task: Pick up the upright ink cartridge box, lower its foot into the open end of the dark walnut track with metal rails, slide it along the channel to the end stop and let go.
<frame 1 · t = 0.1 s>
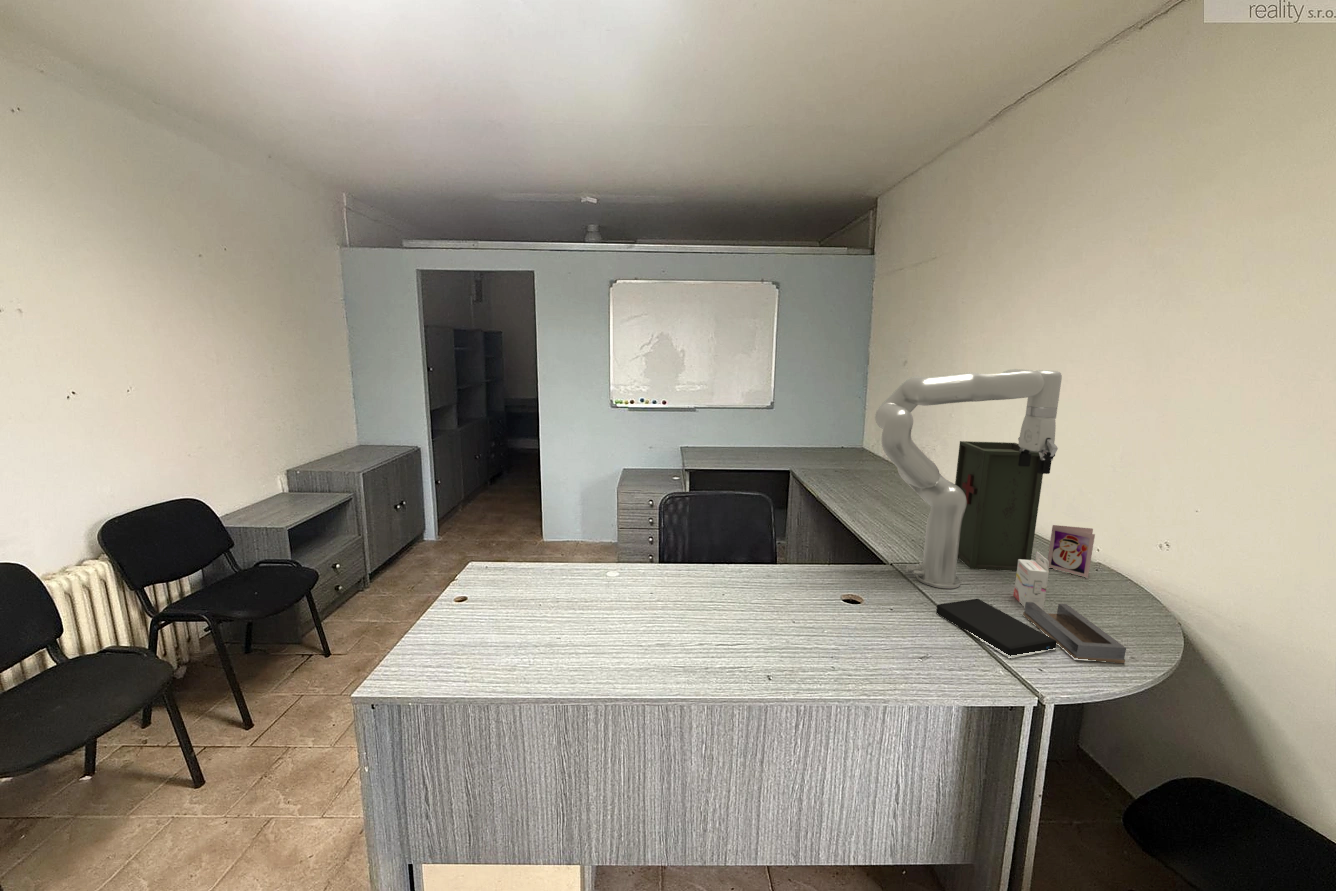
hand: (1033, 469, 162), 37 cm above the table, tool pointing down, fingers open, 9 cm apart
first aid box: (986, 560, 188), on the table
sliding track: (1069, 637, 138), on the table
greeting card: (1069, 571, 180), on the table
ink cartridge box: (1027, 603, 156), on the table
external hard drive: (991, 632, 141), on the table
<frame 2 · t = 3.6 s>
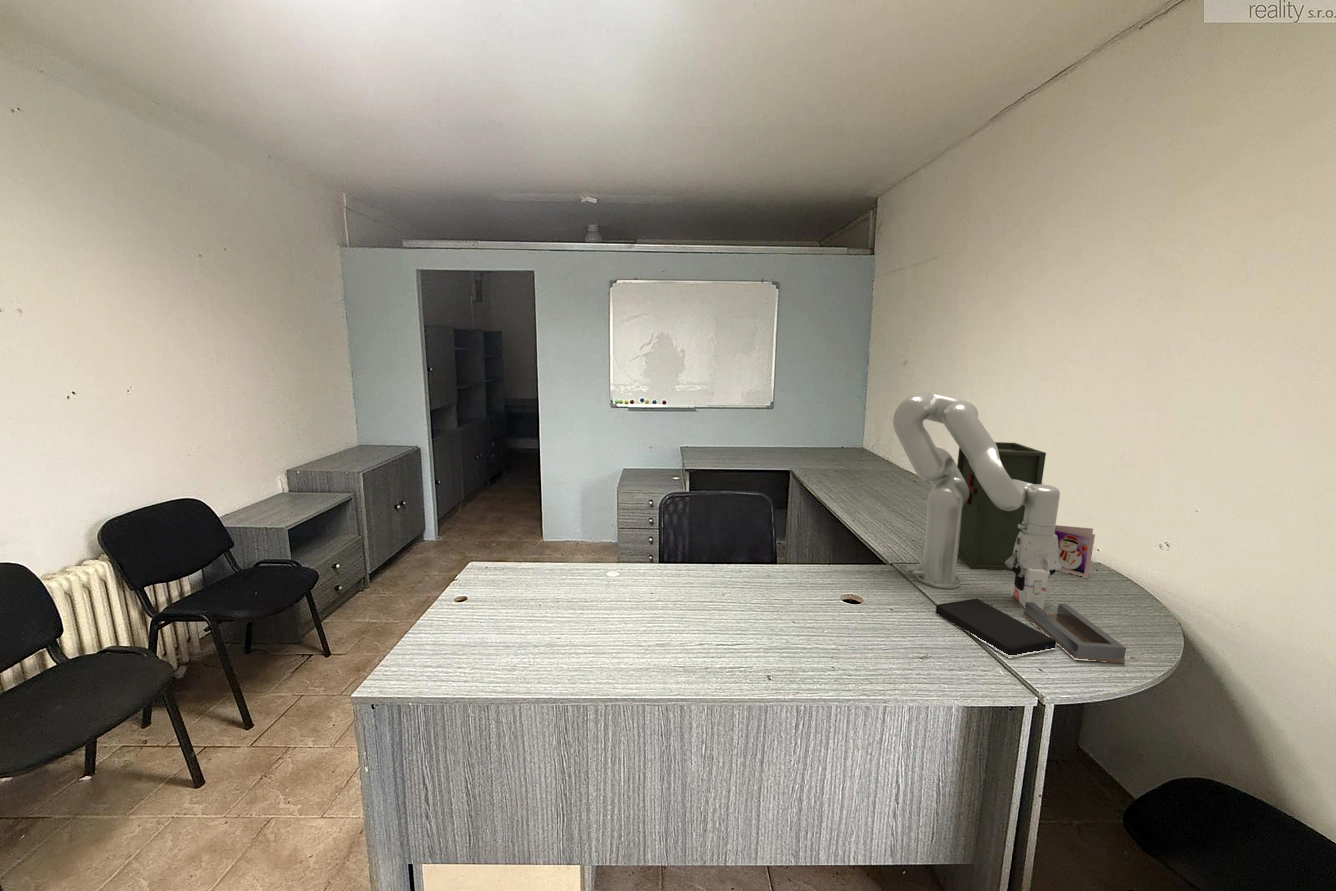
hand: (1029, 588, 156), 5 cm above the table, tool pointing down, fingers closed on ink cartridge box, 5 cm apart
ink cartridge box: (1027, 603, 156), on the table, touching gripper
everything else where it was.
when the fingers open (6 cm above the table, at t = 11.2 s): ink cartridge box stays where it is, resting on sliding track.
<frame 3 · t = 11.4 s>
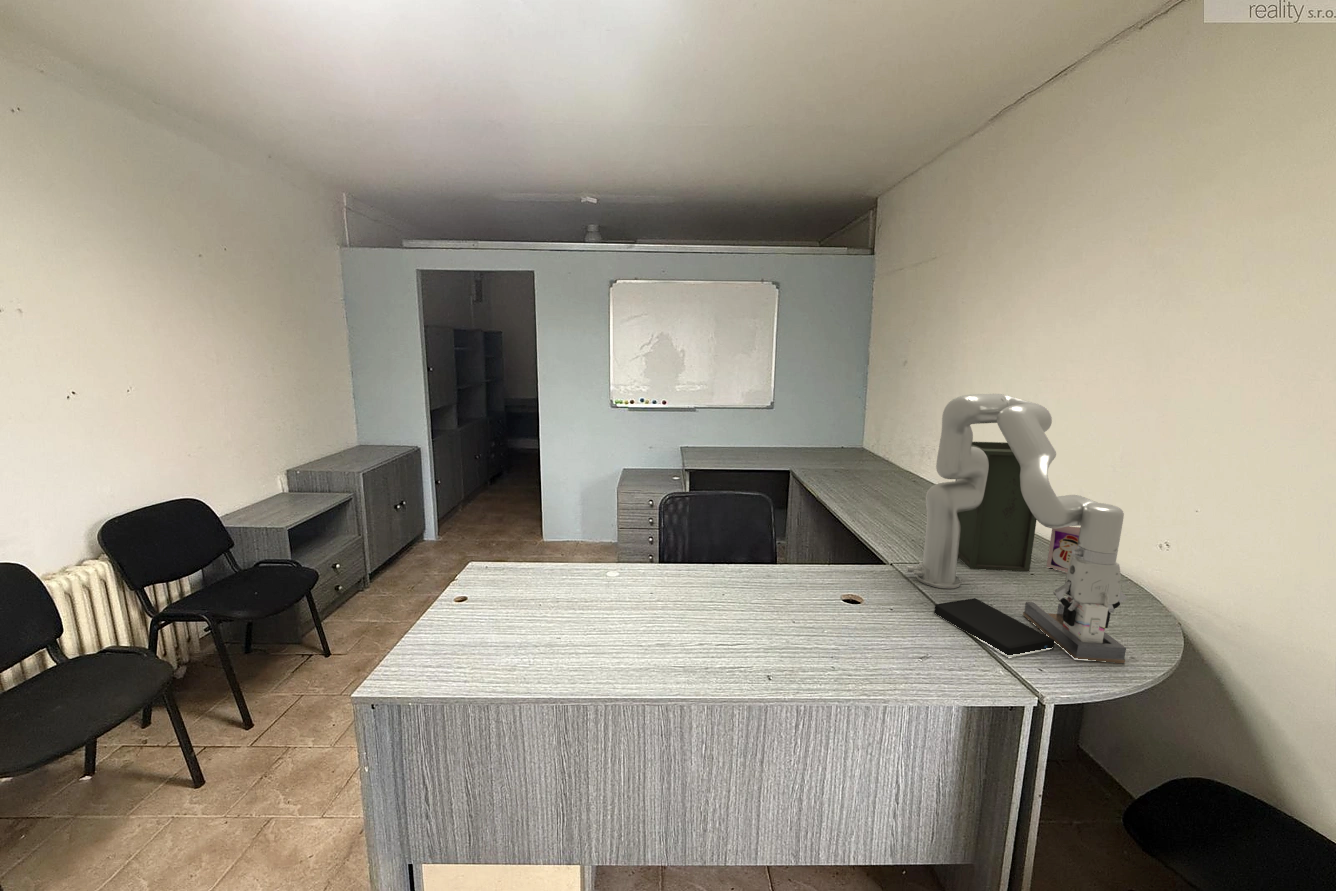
hand: (1084, 623, 132), 6 cm above the table, tool pointing down, fingers open, 7 cm apart
ink cartridge box: (1080, 643, 133), point 1 cm above the table, touching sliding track
everything else where it was.
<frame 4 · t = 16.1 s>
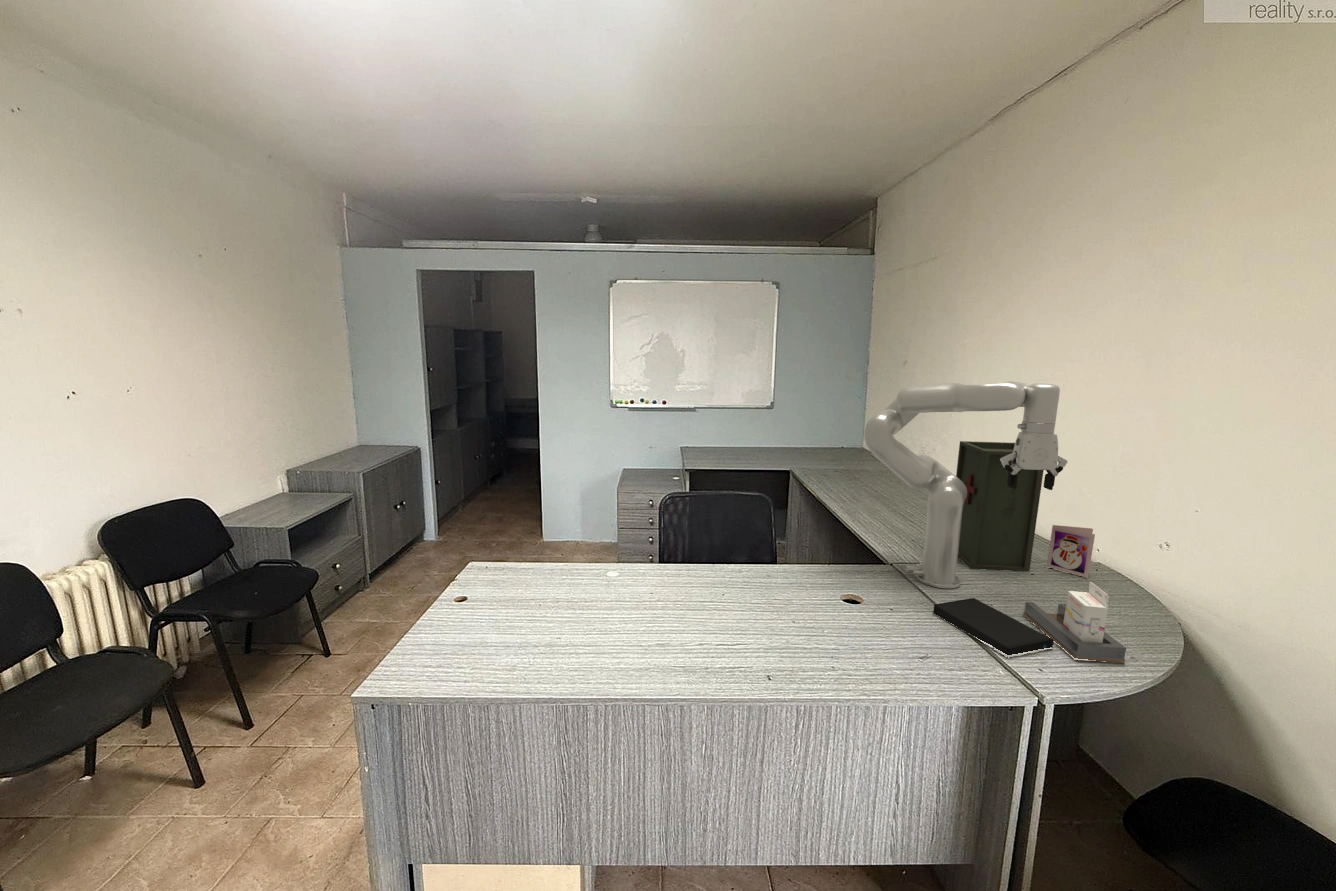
hand: (1029, 488, 153), 33 cm above the table, tool pointing down, fingers open, 9 cm apart
nothing on the table moved.
at the end: ink cartridge box 0.5 cm from the target spot on the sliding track, point 0.8 cm above the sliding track's base; ink cartridge box tilted 0°; the gripper is holding nothing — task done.
